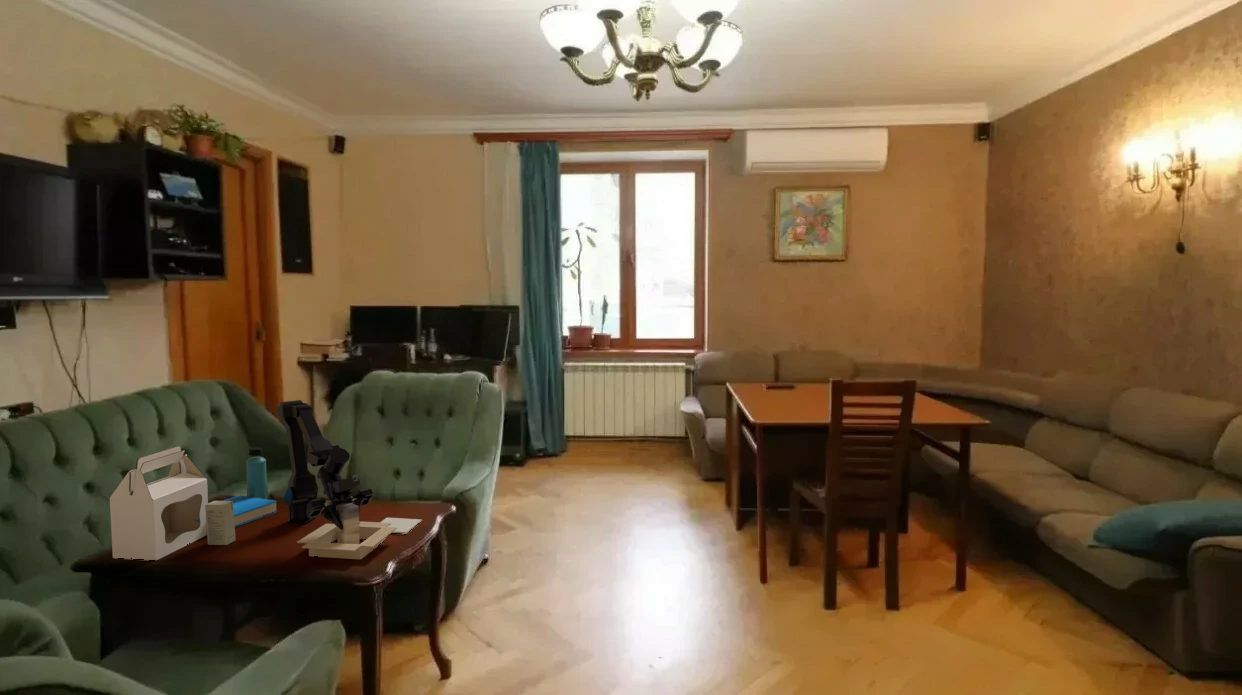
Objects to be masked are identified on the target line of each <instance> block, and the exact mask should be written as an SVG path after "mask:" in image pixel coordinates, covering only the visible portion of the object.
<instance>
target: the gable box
mask: <svg viewBox="0 0 1242 695" xmlns="http://www.w3.org/2000/svg"><path fill="white" fill-rule="evenodd" d="M185 451H186V450H185V449H183V450H182V449H181V446H173V447H170V448H167V449H164V450H161V451H158V452H154V453H150V454H147V455H144V456H140V457H138V458H137V459H136V461H135V469H131V470H130V471H128V472H127V474H125V476H124V478H123V479H122V480H121V481H120V483H119V485H117V487H116V489H115V490H114V491H113V493H112V494H111V496H110V497H109V509H110V510H109V512H110V528H111V547H112V550H111V552H112V559H118V558H124V559H123V560H133V559H144V560H143V561H149V560H155V561H159V560H160V559H162V558H164V557H166V556H168V555H170V554H172V553H174V552H176V551H178V550H180V549H182V548H184V547H187V546H188V545H190V544H192V543H194V542H196V541H197V540H200V539H202V538H204V537H205V536H207V525H206V510H205V505H206V504H208V503H209V494H208V493H209V492H208V478H207V477H206V476H205V475H204V473H203V472H202V471H201V470H200V469H199V468H198V466H196V465H195V463H194V462H193V461H192V459H190V457H189V456H188V454H186V453H185ZM169 465H171V468H170V471H169V473H168V476H165V477H164V478H160V479H158V480H154V481H152V482H149V483H147V482H146V479H145V476H144V474H146V473H149V472H153V471H154V470H157V469H161V468H163V467H166V466H169ZM196 520H199V521H200V525H199V527H198V528H197V529H196V522H197V521H196ZM189 543H190V544H189ZM187 544H188V545H187ZM131 558H132V559H131Z"/></svg>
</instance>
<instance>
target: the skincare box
mask: <svg viewBox="0 0 1242 695" xmlns="http://www.w3.org/2000/svg"><path fill="white" fill-rule="evenodd" d="M205 510H206V525H207V535H206V536H207V545H209V546H212V545H214V546H216V545H217V546H227V545H229V544H231V543H233V542H235V541H236V527H235V525H234V509H233V501H224V500H213V501H210V502H208V504H206V505H205Z"/></svg>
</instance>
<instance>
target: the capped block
mask: <svg viewBox="0 0 1242 695" xmlns="http://www.w3.org/2000/svg"><path fill="white" fill-rule="evenodd" d="M336 510H337V513H338V515H339V517H340V519H341V522H342V524H343V530H341V529H339V528H338V527H337V534H338V539H337V543H343V544H359V545H360V544H361V541H360V540H361V539H359V506H357V505H355V504H353V503H349V504H344V505H340V506H336Z"/></svg>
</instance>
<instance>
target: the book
mask: <svg viewBox="0 0 1242 695" xmlns="http://www.w3.org/2000/svg"><path fill="white" fill-rule="evenodd" d="M223 501H233V509H234V525H235V528H237V527H240V526H242V525H245V524H248V523H251V522H254V521H256V520H258V519H262V518H264V517H265V518H266V517H269V516H271V515H274V514H276V513H278V510H277V503H278V500H275V499H274V500H273V499H268V498H267V499H261V498H254V497H248V496H247V495H245V496H244V495H236V496H233V497H231V498H227V499H224V500H223ZM272 512H273V513H272ZM266 514H268V515H266ZM270 514H271V515H270ZM263 515H265V516H263ZM196 521H197V522H196V529H197V528H198V527H199V525H200V521H199V520H196ZM244 522H245V523H244Z"/></svg>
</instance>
